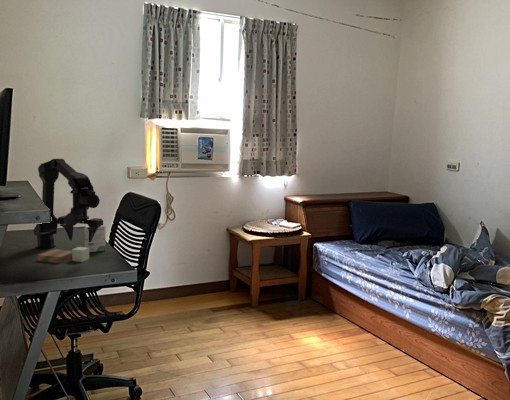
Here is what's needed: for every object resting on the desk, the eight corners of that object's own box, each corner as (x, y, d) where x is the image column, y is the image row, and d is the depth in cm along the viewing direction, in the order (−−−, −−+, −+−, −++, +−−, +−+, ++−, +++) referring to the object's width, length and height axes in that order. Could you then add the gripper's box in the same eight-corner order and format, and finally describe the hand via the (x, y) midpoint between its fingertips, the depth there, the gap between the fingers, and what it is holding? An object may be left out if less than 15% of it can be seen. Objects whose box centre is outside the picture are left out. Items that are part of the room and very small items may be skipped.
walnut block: (37, 261, 206) (37, 254, 205) (54, 255, 216) (54, 249, 216) (60, 264, 203) (60, 257, 203) (76, 257, 214) (76, 251, 213)
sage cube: (72, 260, 207) (72, 249, 207) (79, 258, 212) (78, 246, 212) (82, 262, 206) (82, 250, 206) (89, 259, 211) (89, 247, 210)
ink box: (103, 248, 230) (103, 224, 228) (105, 251, 225) (105, 226, 224) (84, 250, 225) (84, 225, 224) (86, 252, 221) (86, 227, 219)
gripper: (48, 206, 200) (49, 243, 203) (89, 209, 196) (89, 247, 198) (64, 202, 211) (65, 237, 213) (103, 205, 207) (104, 241, 209)
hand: (80, 241), depth 208 cm, fingers open, 9 cm apart
